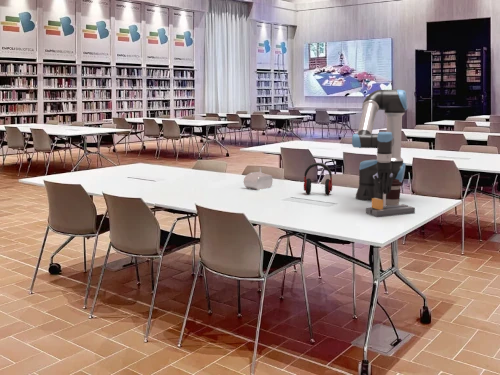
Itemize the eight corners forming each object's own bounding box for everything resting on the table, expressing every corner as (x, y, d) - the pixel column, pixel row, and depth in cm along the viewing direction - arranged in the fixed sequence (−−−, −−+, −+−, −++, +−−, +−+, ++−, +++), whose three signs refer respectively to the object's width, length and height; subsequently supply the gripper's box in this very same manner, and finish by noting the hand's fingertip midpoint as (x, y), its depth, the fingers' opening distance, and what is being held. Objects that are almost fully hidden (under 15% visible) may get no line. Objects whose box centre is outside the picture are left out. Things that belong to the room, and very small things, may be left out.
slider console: (365, 213, 323) (366, 207, 323) (403, 209, 332) (403, 204, 332) (376, 217, 314) (376, 211, 314) (414, 213, 323) (414, 207, 323)
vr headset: (261, 185, 416) (261, 164, 414) (273, 187, 409) (273, 166, 406) (243, 189, 403) (243, 167, 401) (256, 190, 395) (256, 168, 393)
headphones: (332, 193, 384) (332, 162, 380) (331, 196, 374) (331, 164, 371) (304, 192, 387) (305, 161, 384) (303, 195, 378) (303, 163, 374)
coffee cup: (392, 208, 337) (393, 181, 334) (379, 205, 345) (380, 179, 342) (404, 205, 343) (405, 179, 340) (391, 203, 350) (391, 177, 348)
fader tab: (371, 211, 322) (371, 197, 321) (376, 210, 323) (376, 197, 322) (377, 213, 317) (378, 199, 316) (382, 212, 318) (383, 199, 317)
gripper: (377, 163, 311) (376, 208, 315) (398, 161, 316) (397, 206, 320) (369, 161, 318) (368, 205, 322) (390, 160, 323) (389, 203, 327)
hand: (382, 205), depth 321 cm, fingers closed
